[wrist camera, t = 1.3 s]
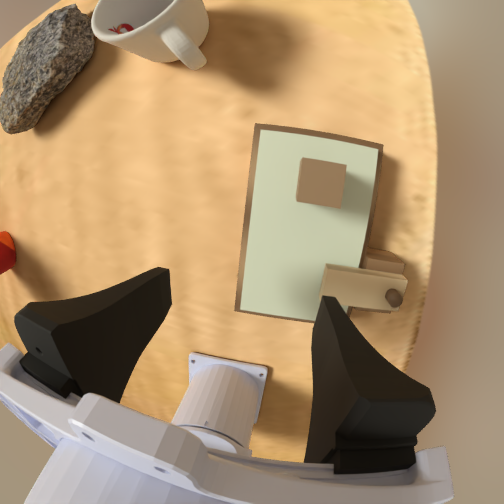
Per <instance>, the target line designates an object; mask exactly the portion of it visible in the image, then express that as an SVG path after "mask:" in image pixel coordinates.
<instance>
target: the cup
mask: <svg viewBox="0 0 504 504" xmlns="http://www.w3.org/2000/svg"><path fill="white" fill-rule="evenodd" d="M91 27H92V30H93V33H94V34H95V36H96V37H97V38H99V39H100V40H102V41H104V42H107V43H109V44H112V45H114V46H117V47H119V48H122V49H124V50H127V51H129V52H132V53H134V54H136V55H139V56H141V57H143V58H145V59H148V60H151V61H154V62H173V61H176V60H179V59H180V60H181V61H182V62H183V63H184V64H185V65H186V66H187V67H188V68H190V69H191V70H198V69H200V68H201V67H203V66H204V65H205V64H206V62H207V59H206V58H205V56H204V55H203V53H202V52H201V51H200V50H199V48H198V47H199V46H200V45H201V44H202V42H203V41H204V40H205V38H206V36H207V33H208V30H209V18H208V15H207V11H206V9H205V6H204V3H203V1H202V0H99V2H98V4H97V5H96V7H95V10H94V12H93V15H92V20H91Z"/></svg>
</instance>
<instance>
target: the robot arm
mask: <svg viewBox="0 0 504 504" xmlns="http://www.w3.org/2000/svg"><path fill="white" fill-rule="evenodd" d="M171 305H172V299H171V287H170V272H169V269H166V268H161V267H157V268H154V269H151V270H149V271H147V272H144V273H142V274H140V275H138V276H136V277H133V278H131V279H129V280H127V281H124V282H122V283H120V284H117V285H115V286H112V287H110V288H107V289H105V290H102V291H99V292H96V293H92V294H89V295H85V296H81V297H76V298H72V299H66V300H59V301H49V302H30V303H28V304H27V305H26V306H25V307H24V308H23V309H21V310H20V311H19V312H18V313H17V314H16V315H15V320H14V322H15V326H16V329H17V331H18V333H19V336H20V338H21V340H22V342H23V344H24V345H25V347H26V349H27V351H28V352H27V353H26V354H25V356H24V355H23V353H22V352H21V351H20V350H18V349H17V348H16V347H14V346H13V345H12V344H11V343H7V344H6V345H5V346H4V347H3V348H2V349H1V350H0V400H1V401H2V402H3V404H4V405H5V406H6V407H7V408H8V409H9V410H10V411H11V412H13V414H14V415H16V416H17V417H18V418H19V419H20V420H21V421H22V422H23V423H24V424H25V425H27V426H28V427H29V428H30V429H31V430H32V431H34V432H35V433H36V434H37V435H38V436H40V437H41V438H42V439H43V440H44V441H46V442H47V443H48V444H50V445H51V446H52V447H54V448H55V451H54V453H53V454H52V456H51V457H50V459H49V460H48V462H47V464H46V466H45V467H44V469H43V471H42V472H41V474H40V476H39V477H38V479H37V481H36V482H35V484H34V486H33V488H32V490H31V491H30V493H29V495H28V496H27V498H26V500H25V502H24V504H443V503H445V502H447V501H449V500H451V499H453V497H454V491H453V484H452V478H451V472H450V466H449V461H448V456H447V451H446V447H445V446H440V447H434V448H429V449H423V450H420V451H418V452H416V453H415V451H414V446H415V445H416V444H417V437H416V435H417V434H418V433H419V432H420V431H421V430H422V429H423V428H424V427H425V426H426V425H427V424H428V423H429V422H430V421H431V419H432V418H433V417H434V414H435V412H436V408H435V404H434V400H433V398H432V395H431V391H430V389H429V388H428V387H426V386H424V385H422V384H421V383H419V382H417V381H415V380H413V379H412V378H410V377H409V376H407V375H406V374H404V373H403V372H401V371H400V370H399V369H397V368H396V367H395V366H393V365H392V364H391V363H390V362H388V361H387V360H386V359H385V358H384V357H383V356H382V355H380V354H379V353H378V352H377V351H376V350H375V349H374V348H373V347H372V346H371V345H370V344H369V342H368V341H367V340H366V339H365V338H364V337H363V335H362V334H361V333H360V332H359V331H358V329H357V328H356V327H355V325H354V324H353V323H352V321H351V320H350V318H349V317H348V315H347V314H346V312H345V311H344V309H343V308H342V306H341V305H340V303H339V302H338V300H337V299H336V297H332V296H325V295H322V298H321V302H320V306H319V309H318V313H317V316H316V320H315V324H314V327H313V332H312V346H311V351H312V372H313V401H312V412H311V421H310V428H309V435H308V442H307V448H306V454H305V459H304V463H299V462H288V461H279V460H271V459H264V458H257V457H251V455H252V450H250V449H249V444H250V439H251V434H252V429H253V424H255V423H256V422H257V418H258V414H259V410H260V405H261V400H262V396H263V391H264V386H265V382H266V377H267V372H268V369H267V367H265V366H261V365H255V364H249V363H244V362H238V361H233V360H228V359H223V358H218V357H213V356H208V355H204V354H200V353H195V352H191V353H190V355H189V387H188V389H187V391H186V393H185V395H184V397H183V399H182V401H181V403H180V405H179V407H178V409H177V411H176V413H175V415H174V417H173V419H172V421H171V423H169V422H166V421H163V420H160V419H157V418H154V417H151V416H149V415H146V414H143V413H141V412H138V411H136V410H133V409H131V408H128V407H126V406H123V405H121V404H119V403H120V400H121V398H122V395H123V392H124V390H125V387H126V385H127V383H128V380H129V378H130V376H131V373H132V371H133V369H134V367H135V365H136V363H137V361H138V359H139V357H140V356H141V354H142V352H143V351H144V349H145V348H146V346H147V345H148V343H149V342H150V340H151V339H152V337H153V336H154V334H155V333H156V331H157V330H158V328H159V327H160V325H161V324H162V322H163V321H164V319H165V317H166V315H167V313H168V311H169V309H170V307H171ZM193 360H195V361H193ZM260 373H262V374H263V375H261V374H260Z"/></svg>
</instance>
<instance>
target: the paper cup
mask: <svg viewBox="0 0 504 504" xmlns="http://www.w3.org/2000/svg"><path fill="white" fill-rule="evenodd" d="M15 262H16V251H15V246H14V243H13V240H12V238H11V236H10V235H9V233H8V232H6V231H3V232H0V274H2V273H4V272H5V271H7V270H9V269H10V268H12V267H13V266H14V265H15Z"/></svg>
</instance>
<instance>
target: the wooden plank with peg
mask: <svg viewBox="0 0 504 504" xmlns="http://www.w3.org/2000/svg"><path fill="white" fill-rule="evenodd" d="M407 283H408V280H407V279H406V278H405V277H404V276H403V275H402V274H395V273H388V272H381V271H375V270H368V269H361V268H355V267H348V266H341V265H335V264H328V263H325V268H324V273H323V278H322V282H321V287H320V291H319V299H320V302H321V298H322V295H325V296H332V297H336V299H337V300H338V302H339V303H340V305H345V306H353V307H362V308H371V309H380V310H389V311H399V308H400V305H401V304H402V301H403V296H404V293H405V290H406V286H407Z"/></svg>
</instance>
